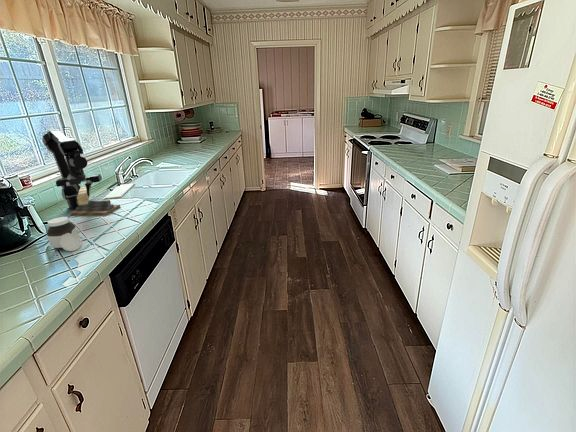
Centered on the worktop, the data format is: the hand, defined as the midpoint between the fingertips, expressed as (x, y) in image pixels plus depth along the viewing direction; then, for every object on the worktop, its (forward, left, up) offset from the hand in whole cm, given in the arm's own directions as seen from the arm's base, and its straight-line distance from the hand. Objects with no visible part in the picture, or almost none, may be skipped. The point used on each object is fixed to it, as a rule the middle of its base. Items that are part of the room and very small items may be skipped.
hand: (84, 196), depth 159 cm
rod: (0, 0, -1) cm, 1 cm away
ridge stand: (-1, +6, -10) cm, 12 cm away
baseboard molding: (-13, +41, -11) cm, 45 cm away
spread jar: (+19, -35, -10) cm, 42 cm away
